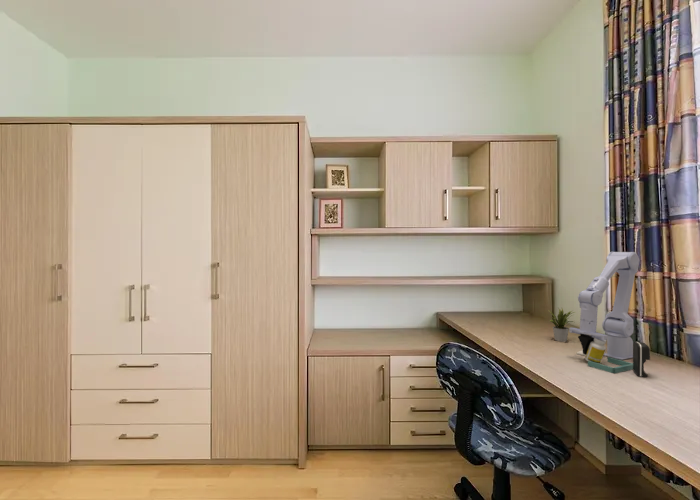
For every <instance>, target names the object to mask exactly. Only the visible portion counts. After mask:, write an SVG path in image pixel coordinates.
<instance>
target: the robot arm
mask: <svg viewBox="0 0 700 500" xmlns="http://www.w3.org/2000/svg"><path fill="white" fill-rule="evenodd" d="M605 261H606V264H605V266H604V267H603V269H602V271H600V272H601V273H600V274H599V276H595V277H594V278H593V279H592V281H591V282H590V283H589V284H588V286H587V288H586V289H584V290H582V291H580V292H579V294H578V296H577V300H578V303H579V308H580V317H579V328H576V327H569V331H568V333H572V334H577V335H578V336H577V338H578V340H579V342H580V345H581V348H582V350H583V354H587V351H588V348H589V345H590V343H591V342H592V341H594V337H595V338H597V339H601V340H606V344H607V345H606V346H607V348H606V349H607V350H606V352H604V355H603V357H604V356H605V357H610V358H614V359H618V360H622V361H624V360H628V359H633V343H634V341H633V339H632V337H631V336H632V335H633V334H634V329H635V326H634V319H633V318H632V317H631V316H630V315H629V314H628V313H629V307H630V302H631V297H632V292H633V287H634V282H635V276H636V274H637V273H638V270H639V266H640V265H639V264H640V257H639V255H638V254H637V253H636V252H635V251H610V252H609V253H608V254H607V256H606V259H605ZM616 273H618V275H619V277H618V283H617V287H616V292H615V296H614V302H613V307H612V311H610V312H608V313H606V314H605V317H604V319H603V321H602V324H601V326H602V329H603V331H604V332H605V334H603V333H599V332H598V331H597V323H598V309H599V306H600V305H601V304H602V301H603V297H604V293H605V291H606V290H607V289H608V287H609V285H610V282H609V280H610V279H611V278H612V277H613V276H614V275H615V274H616Z"/></svg>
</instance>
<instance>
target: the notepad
mask: <svg viewBox="0 0 700 500" xmlns="http://www.w3.org/2000/svg"><path fill="white" fill-rule="evenodd" d="M575 355H579V356H586V354H583V349H582V350H579V351H577V352H576V353H575Z"/></svg>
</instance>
